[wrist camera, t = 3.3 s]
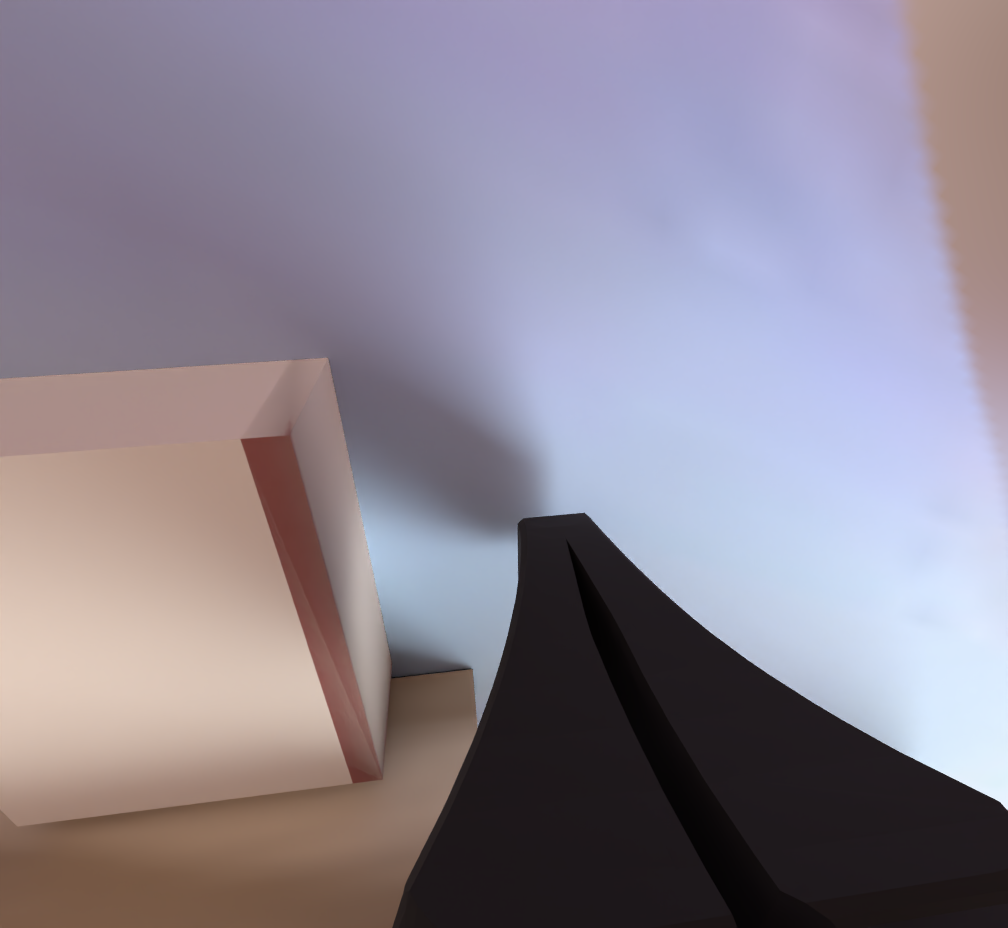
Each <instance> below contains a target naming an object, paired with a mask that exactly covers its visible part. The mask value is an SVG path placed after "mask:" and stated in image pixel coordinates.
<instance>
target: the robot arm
mask: <svg viewBox="0 0 1008 928" xmlns="http://www.w3.org/2000/svg"><path fill="white" fill-rule="evenodd" d="M392 928H1008V811H1007V809H1006V808H1005V807H1004V806H1003V805H1002V804H1001V803H1000V802H999V801H997V800H995V799H993V798H991V797H989V796H987V795H985V794H983V793H981V792H979V791H977V790H975V789H973V788H971V787H969V786H967V785H965V784H963V783H961V782H959V781H957V780H955V779H953V778H951V777H949V776H947V775H945V774H943V773H941V772H939V771H937V770H935V769H933V768H931V767H929V766H927V765H925V764H923V763H921V762H919V761H917V760H915V759H913V758H911V757H909V756H906V755H904V754H903V753H901V752H899V751H897V750H895V749H893V748H891V747H889V746H888V745H886V744H884V743H882V742H880V741H879V740H877V739H875V738H873V737H871V736H870V735H868V734H866V733H864V732H863V731H861V730H859V729H857V728H855V727H854V726H852V725H850V724H848V723H846V722H845V721H843V720H841V719H839V718H838V717H836V716H834V715H833V714H831V713H829V712H828V711H826V710H824V709H823V708H821V707H819V706H818V705H816V704H814V703H812V702H811V701H809V700H808V699H806V698H805V697H803V696H802V695H800V694H798V693H797V692H795V691H794V690H792V689H791V688H789V687H787V686H786V685H784V684H783V683H781V682H780V681H778V680H776V679H775V678H773V677H772V676H770V675H769V674H767V673H766V672H764V671H763V670H761V669H760V668H758V667H757V666H755V665H754V664H753V663H751V662H750V661H748V660H747V659H745V658H744V657H743V656H741V655H740V654H739V653H737V652H736V651H734V650H733V649H732V648H730V647H729V646H728V645H726V644H725V643H724V642H722V641H721V640H720V639H718V638H717V637H716V636H714V635H713V634H712V633H710V632H709V631H708V630H707V629H705V628H704V627H703V626H702V625H700V624H699V623H698V622H697V621H696V620H694V619H693V618H692V617H691V616H690V615H688V614H687V613H686V612H685V611H684V610H683V609H682V608H680V607H679V606H678V605H677V604H676V603H675V602H673V601H672V600H671V599H670V598H669V597H668V596H667V595H666V594H665V593H663V592H662V591H661V590H660V589H659V588H658V587H657V586H656V585H655V584H654V583H653V582H652V581H651V580H650V579H649V578H648V577H646V576H645V575H644V574H643V573H642V572H641V571H640V570H639V569H638V568H637V567H636V566H635V565H634V564H633V563H632V562H631V561H630V560H629V559H628V558H627V557H626V556H625V555H624V554H623V553H622V552H621V551H620V550H619V549H618V548H617V547H616V545H615V544H614V543H613V542H612V541H611V540H610V539H609V538H608V537H607V536H606V535H605V534H604V533H603V532H602V530H601V529H600V528H599V527H598V526H597V525H596V524H595V523H594V522H593V521H592V520H591V518H590V517H589V516H587V515H586V514H585V513H578V514H567V515H556V516H545V517H534V518H523V519H522V520H521V521H520V522H519V523H518V587H517V594H516V600H515V605H514V610H513V614H512V619H511V623H510V628H509V632H508V636H507V640H506V644H505V648H504V651H503V655H502V658H501V662H500V665H499V668H498V671H497V675H496V678H495V681H494V684H493V687H492V690H491V693H490V696H489V698H488V701H487V704H486V707H485V710H484V712H483V715H482V718H481V721H480V723H479V726H478V728H477V731H476V734H475V736H474V739H473V741H472V744H471V746H470V748H469V750H468V753H467V755H466V757H465V760H464V762H463V764H462V767H461V769H460V771H459V773H458V776H457V778H456V780H455V783H454V785H453V787H452V790H451V792H450V794H449V796H448V799H447V801H446V803H445V805H444V807H443V809H442V811H441V813H440V815H439V817H438V819H437V821H436V823H435V825H434V827H433V829H432V831H431V833H430V835H429V837H428V839H427V841H426V843H425V845H424V847H423V849H422V851H421V853H420V855H419V857H418V859H417V861H416V863H415V865H414V867H413V869H412V871H411V873H410V875H409V877H408V879H407V881H406V884H405V886H404V891H403V895H402V898H401V901H400V904H399V908H398V911H397V914H396V917H395V920H394V924H393V927H392Z"/></svg>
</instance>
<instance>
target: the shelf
mask: <svg viewBox="0 0 1008 928" xmlns="http://www.w3.org/2000/svg"><path fill="white" fill-rule="evenodd" d="M476 731H477V717H476V704H475V693H474V681H473V670H472V669H469V670H461V671H452V672H443V673H435V674H426V675H417V676H409V677H400V678H391V683H390V696H389V708H388V720H387V733H386V745H385V757H384V770H383V780H376V781H368V782H360V783H353V784H345V785H337V786H329V787H322V788H314V789H306V790H298V791H291V792H283V793H275V794H267V795H259V796H252V797H244V798H236V799H228V800H221V801H213V802H205V803H197V804H190V805H182V806H174V807H166V808H158V809H151V810H143V811H135V812H127V813H120V814H112V815H104V816H96V817H88V818H81V819H73V820H65V821H57V822H50V823H42V824H34V825H26V826H19V827H17V826H16V825H15V824H14V823H13V822H12V821H11V820H10V819H9V818H8V817H7V816H6V815H5V814H4V813H3V812H2V811H1V810H0V928H392V927H393V924H394V920H395V917H396V914H397V911H398V908H399V904H400V901H401V898H402V895H403V891H404V886H405V884H406V881H407V879H408V877H409V875H410V873H411V871H412V869H413V867H414V865H415V863H416V861H417V859H418V857H419V855H420V853H421V851H422V849H423V847H424V845H425V843H426V841H427V839H428V837H429V835H430V833H431V831H432V829H433V827H434V825H435V823H436V821H437V819H438V817H439V815H440V813H441V811H442V809H443V807H444V805H445V803H446V801H447V799H448V796H449V794H450V792H451V790H452V787H453V785H454V783H455V780H456V778H457V776H458V773H459V771H460V769H461V767H462V764H463V762H464V760H465V757H466V755H467V753H468V750H469V748H470V746H471V744H472V741H473V739H474V736H475V734H476Z"/></svg>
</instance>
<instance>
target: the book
mask: <svg viewBox="0 0 1008 928" xmlns="http://www.w3.org/2000/svg"><path fill="white" fill-rule="evenodd" d="M391 671H392V661H391V656H390V651H389V646H388V641H387V637H386V632H385V627H384V622H383V618H382V613H381V608H380V603H379V598H378V594H377V589H376V584H375V579H374V575H373V570H372V565H371V560H370V555H369V551H368V546H367V541H366V536H365V532H364V527H363V522H362V517H361V512H360V508H359V503H358V498H357V493H356V488H355V484H354V479H353V474H352V469H351V465H350V460H349V455H348V450H347V445H346V441H345V436H344V431H343V426H342V422H341V417H340V412H339V407H338V402H337V398H336V393H335V388H334V383H333V379H332V374H331V369H330V364H329V359H328V358H315V359H299V360H284V361H268V362H253V363H237V364H221V365H206V366H190V367H175V368H159V369H143V370H128V371H112V372H96V373H81V374H65V375H50V376H34V377H18V378H3V379H0V810H1V811H2V812H3V813H4V814H5V815H6V816H7V817H8V818H9V819H10V820H11V821H12V822H13V823H14V824H15V825H16V826H17V827H19V826H26V825H34V824H42V823H50V822H57V821H65V820H73V819H81V818H88V817H96V816H104V815H112V814H120V813H127V812H135V811H143V810H151V809H158V808H166V807H174V806H182V805H190V804H197V803H205V802H213V801H221V800H228V799H236V798H244V797H252V796H259V795H267V794H275V793H283V792H291V791H298V790H306V789H314V788H322V787H329V786H337V785H345V784H353V783H360V782H368V781H376V780H383V770H384V757H385V745H386V733H387V720H388V708H389V696H390V683H391Z"/></svg>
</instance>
